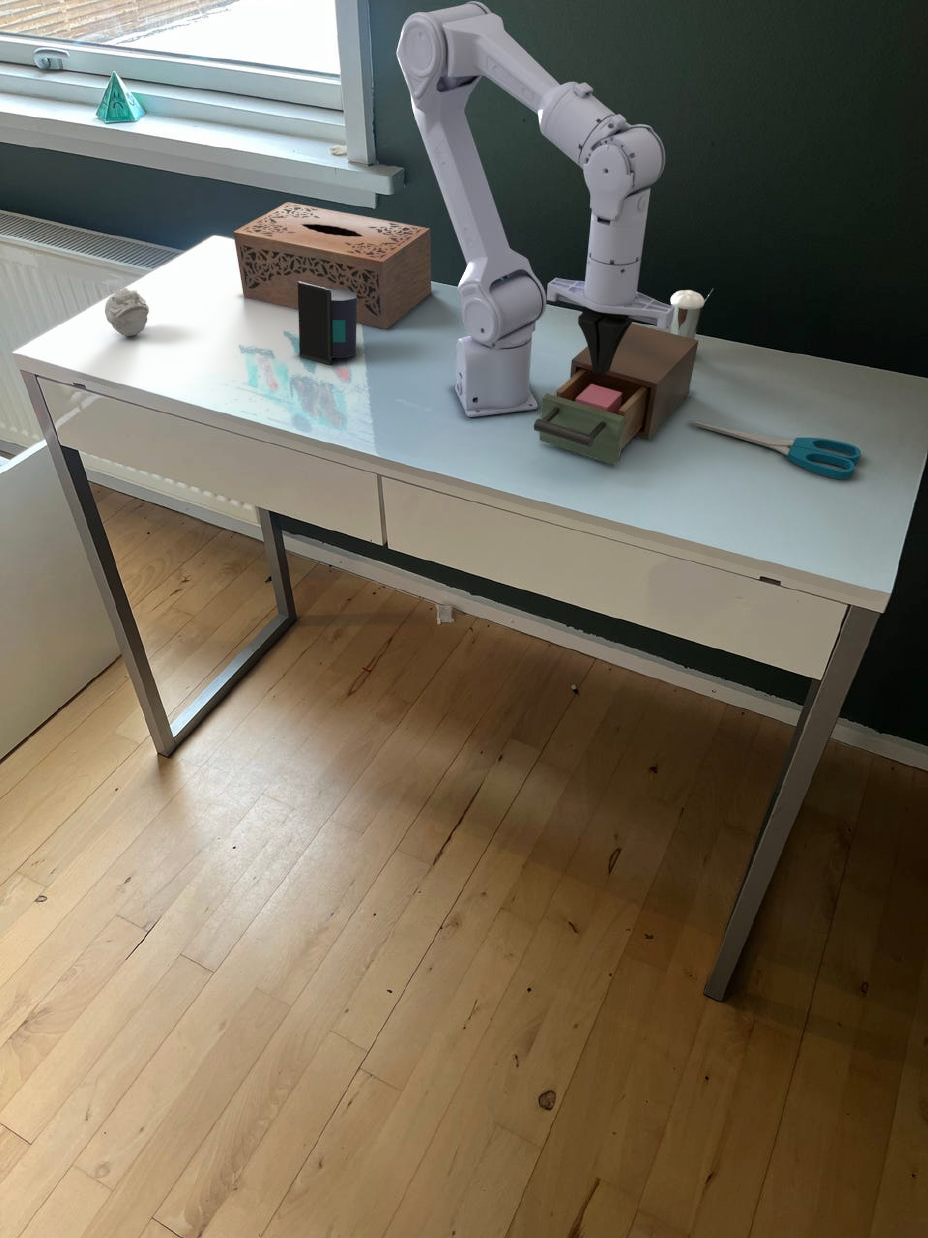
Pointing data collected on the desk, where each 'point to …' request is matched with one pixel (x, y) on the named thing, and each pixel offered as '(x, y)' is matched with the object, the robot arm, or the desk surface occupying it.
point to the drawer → (593, 417)
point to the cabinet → (651, 369)
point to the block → (601, 398)
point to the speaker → (326, 323)
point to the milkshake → (686, 313)
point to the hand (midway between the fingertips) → (601, 370)
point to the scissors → (804, 451)
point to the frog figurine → (127, 312)
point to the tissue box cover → (335, 260)
